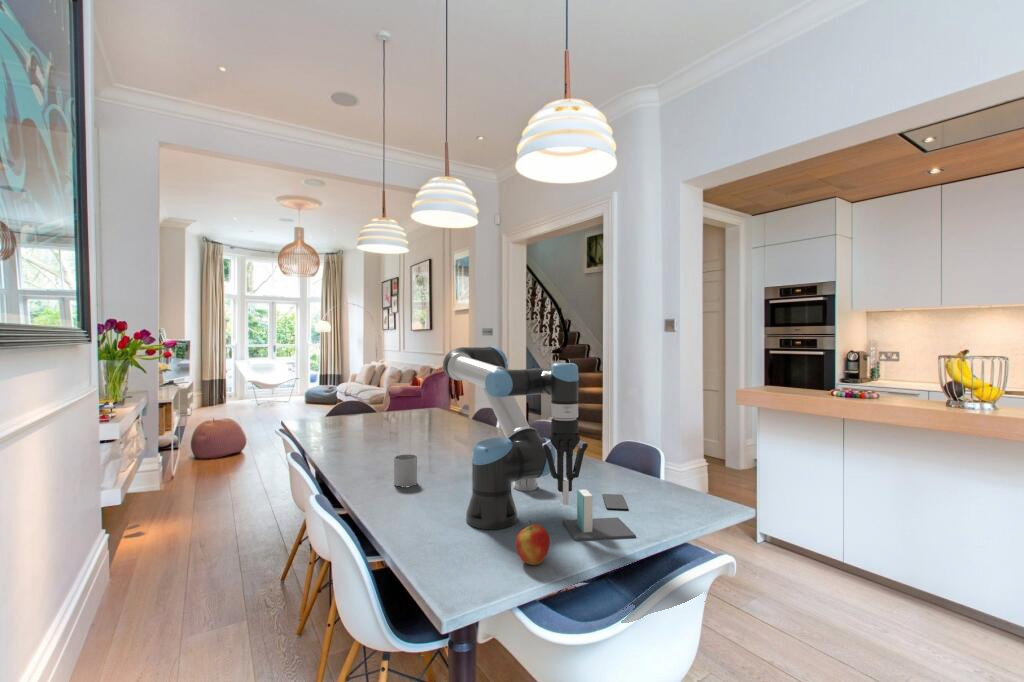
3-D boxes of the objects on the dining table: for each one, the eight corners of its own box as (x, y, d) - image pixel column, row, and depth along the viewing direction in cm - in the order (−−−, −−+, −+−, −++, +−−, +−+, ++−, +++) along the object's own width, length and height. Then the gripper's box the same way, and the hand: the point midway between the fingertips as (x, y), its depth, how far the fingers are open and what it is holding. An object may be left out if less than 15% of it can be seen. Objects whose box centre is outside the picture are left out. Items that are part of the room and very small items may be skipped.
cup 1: (411, 488, 169) (412, 460, 169) (390, 486, 170) (390, 459, 170) (420, 481, 177) (420, 454, 177) (399, 480, 179) (399, 453, 179)
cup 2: (505, 486, 172) (505, 453, 172) (523, 481, 178) (523, 449, 178) (524, 493, 164) (525, 458, 164) (543, 487, 170) (543, 454, 170)
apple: (543, 573, 107) (544, 529, 107) (510, 566, 110) (511, 524, 110) (553, 558, 115) (554, 517, 115) (522, 552, 118) (523, 512, 118)
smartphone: (622, 494, 163) (628, 508, 148) (622, 496, 163) (628, 511, 148) (602, 493, 163) (606, 508, 148) (602, 496, 163) (606, 511, 148)
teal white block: (582, 532, 129) (583, 496, 129) (577, 524, 134) (577, 489, 134) (592, 532, 129) (592, 495, 129) (586, 524, 135) (586, 489, 135)
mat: (575, 540, 125) (575, 538, 125) (562, 522, 138) (562, 520, 138) (635, 537, 128) (635, 535, 128) (617, 519, 140) (618, 517, 140)
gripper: (544, 420, 127) (544, 508, 126) (591, 420, 128) (591, 506, 128) (539, 416, 134) (539, 499, 134) (583, 415, 136) (583, 497, 136)
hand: (564, 502), depth 131 cm, fingers closed
